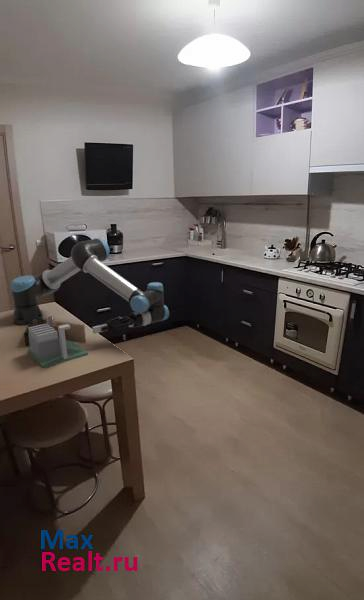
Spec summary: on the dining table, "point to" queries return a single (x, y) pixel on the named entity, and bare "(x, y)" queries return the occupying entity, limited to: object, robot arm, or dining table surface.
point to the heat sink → (52, 345)
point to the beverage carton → (32, 324)
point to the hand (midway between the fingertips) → (93, 330)
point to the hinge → (70, 330)
